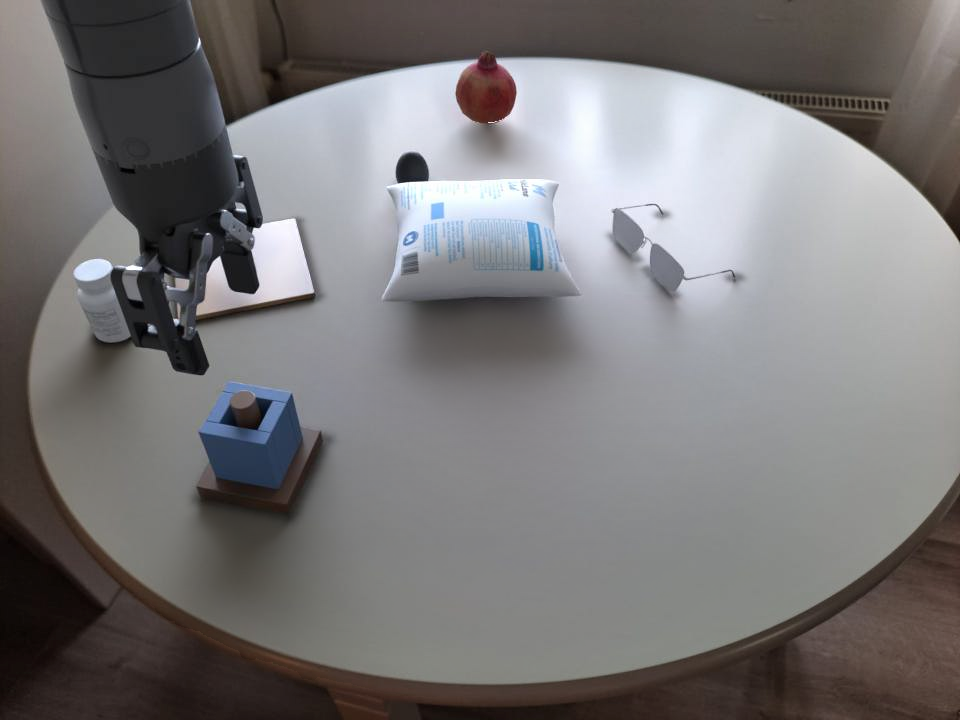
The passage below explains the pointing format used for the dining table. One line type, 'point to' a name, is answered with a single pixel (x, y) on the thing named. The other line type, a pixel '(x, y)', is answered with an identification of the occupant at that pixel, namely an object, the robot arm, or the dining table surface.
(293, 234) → the wooden board
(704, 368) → the dining table surface
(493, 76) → the fruit
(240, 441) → the blue pencil cup
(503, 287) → the pouch
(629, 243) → the eyeglasses
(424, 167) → the black rounded dome
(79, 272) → the pill bottle
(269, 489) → the dowel stand
